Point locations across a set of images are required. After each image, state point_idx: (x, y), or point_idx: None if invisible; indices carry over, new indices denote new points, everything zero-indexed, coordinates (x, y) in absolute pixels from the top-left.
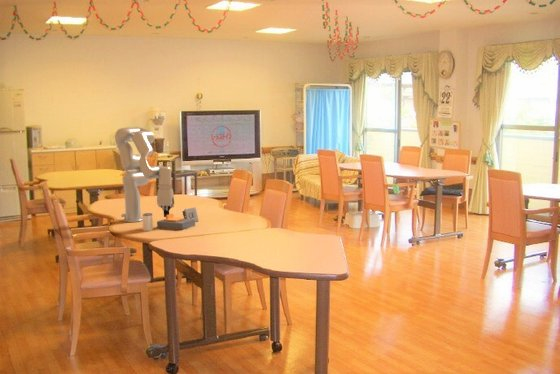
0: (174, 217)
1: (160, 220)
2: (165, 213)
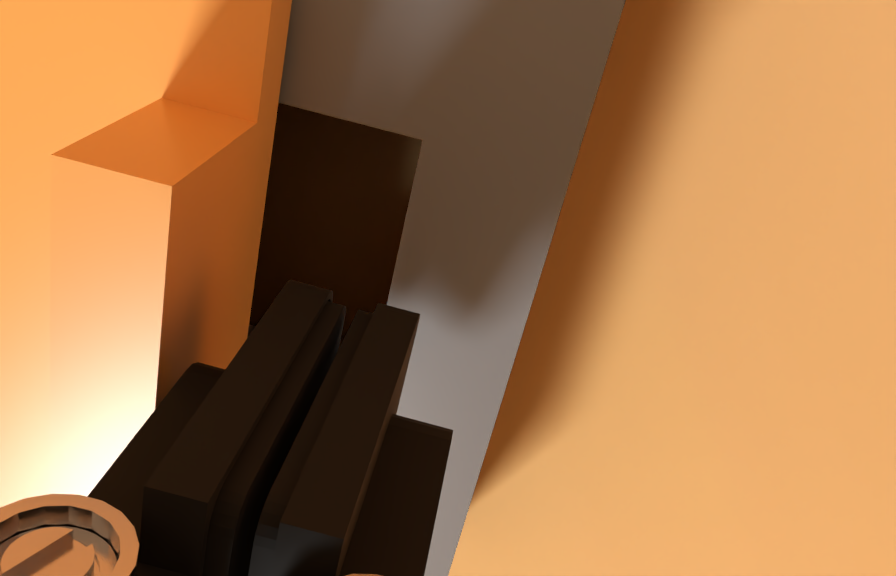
0: None
1: (573, 127)
2: (262, 378)
